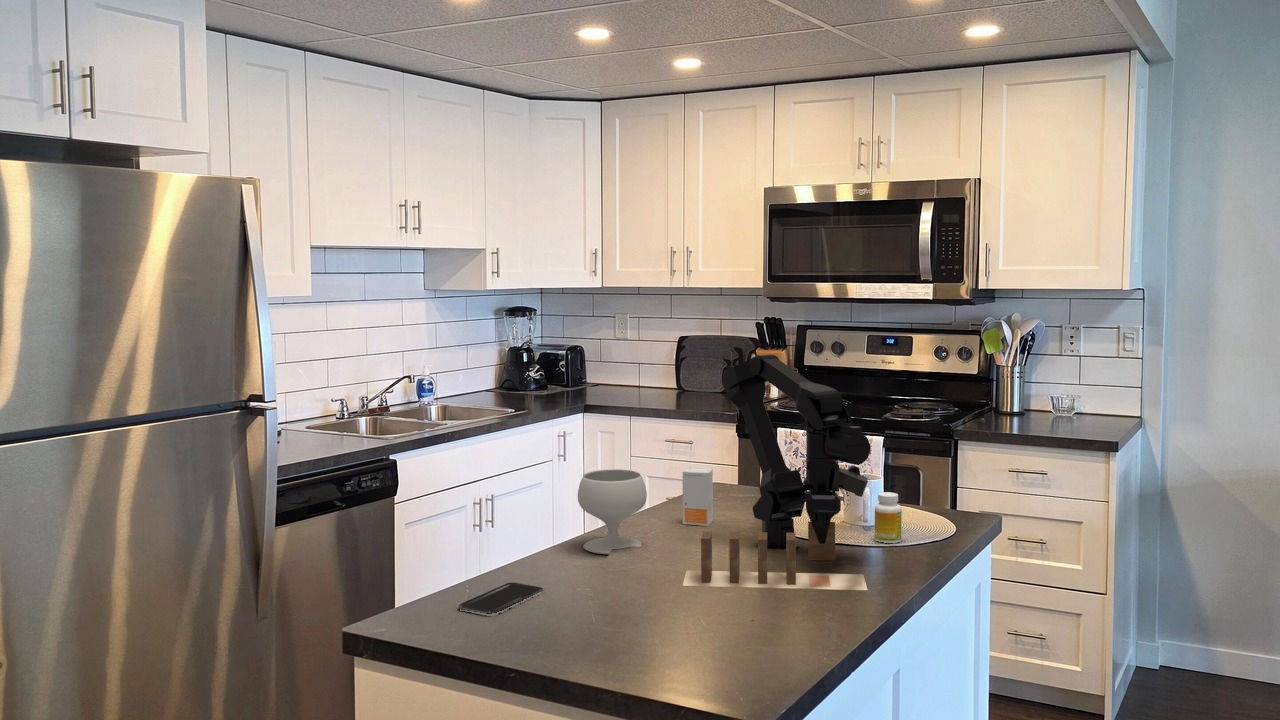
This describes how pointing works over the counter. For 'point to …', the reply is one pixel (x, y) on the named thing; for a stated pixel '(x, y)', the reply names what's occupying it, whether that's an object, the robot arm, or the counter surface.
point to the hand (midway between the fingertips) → (821, 536)
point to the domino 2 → (734, 557)
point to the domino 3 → (762, 557)
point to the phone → (500, 598)
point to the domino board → (780, 580)
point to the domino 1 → (706, 557)
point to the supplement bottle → (888, 518)
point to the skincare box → (698, 496)
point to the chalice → (611, 504)
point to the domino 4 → (791, 558)
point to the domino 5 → (821, 550)
